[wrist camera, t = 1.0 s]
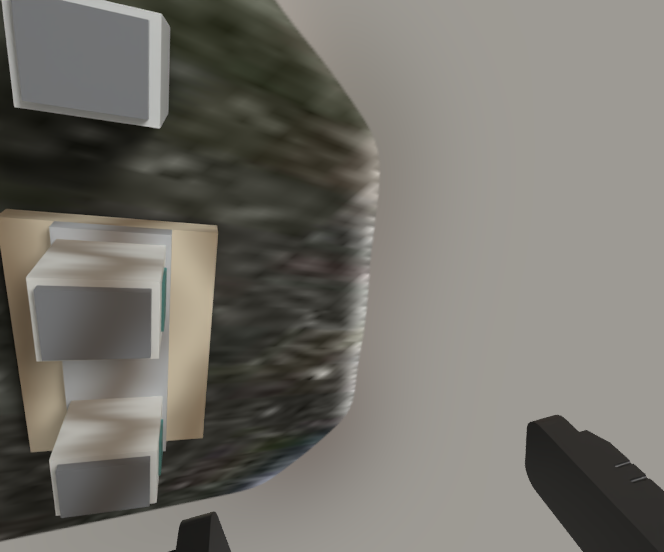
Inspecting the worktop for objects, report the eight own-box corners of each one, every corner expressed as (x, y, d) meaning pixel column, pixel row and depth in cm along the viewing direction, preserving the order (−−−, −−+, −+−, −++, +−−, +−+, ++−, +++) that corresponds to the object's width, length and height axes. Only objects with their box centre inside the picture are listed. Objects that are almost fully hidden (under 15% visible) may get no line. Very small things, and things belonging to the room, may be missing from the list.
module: (61, 96, 23) (9, 108, 16) (54, 1, 21) (-7, -27, 15) (168, 113, 25) (159, 130, 18) (170, 27, 23) (160, 12, 17)
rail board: (37, 436, 32) (-6, 539, 25) (6, 208, 24) (-67, 264, 18) (202, 424, 36) (204, 509, 29) (216, 225, 28) (223, 276, 22)
